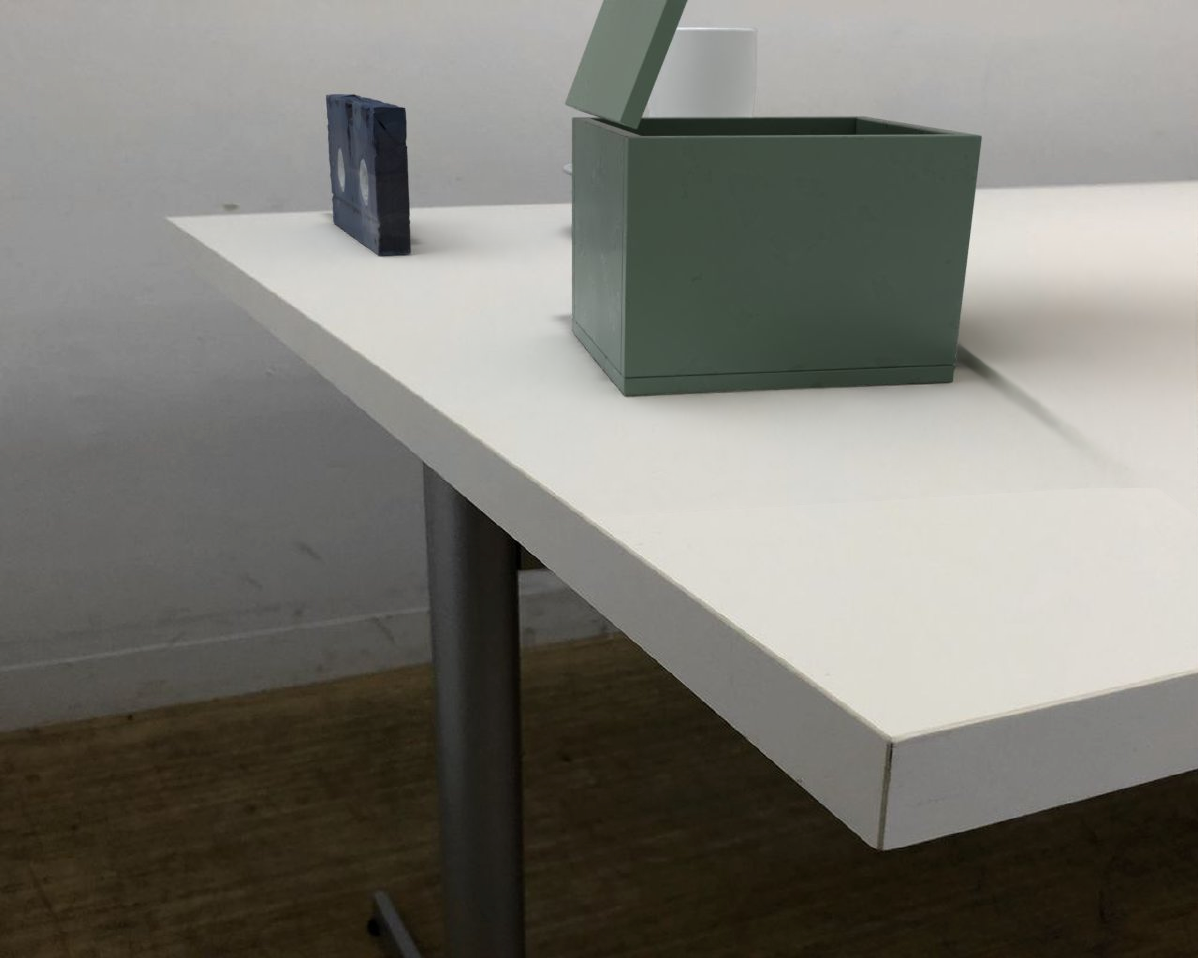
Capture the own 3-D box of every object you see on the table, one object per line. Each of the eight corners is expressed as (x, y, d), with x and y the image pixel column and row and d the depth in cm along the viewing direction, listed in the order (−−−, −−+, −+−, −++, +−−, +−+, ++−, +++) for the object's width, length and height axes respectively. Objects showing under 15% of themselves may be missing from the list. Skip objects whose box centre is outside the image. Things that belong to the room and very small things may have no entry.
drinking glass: (667, 264, 90) (674, 27, 84) (760, 272, 87) (774, 28, 82) (626, 278, 85) (630, 27, 79) (723, 288, 82) (735, 27, 76)
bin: (847, 322, 72) (864, 116, 68) (953, 382, 60) (982, 135, 56) (571, 331, 70) (571, 117, 65) (624, 396, 58) (628, 137, 53)
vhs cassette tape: (413, 254, 93) (406, 106, 89) (372, 256, 92) (363, 106, 88) (368, 221, 109) (360, 93, 105) (332, 222, 108) (323, 94, 104)
